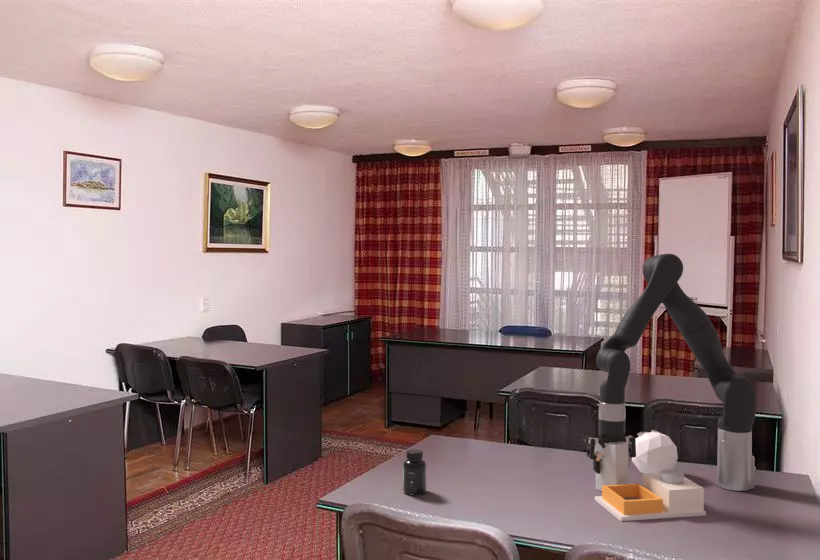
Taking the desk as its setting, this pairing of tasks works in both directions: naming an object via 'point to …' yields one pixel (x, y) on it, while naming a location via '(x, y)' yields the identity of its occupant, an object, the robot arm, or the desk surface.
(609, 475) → the skincare box
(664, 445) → the geodesic sphere
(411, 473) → the supplement bottle
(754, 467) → the robot arm
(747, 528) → the desk surface
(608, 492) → the box holder with button
